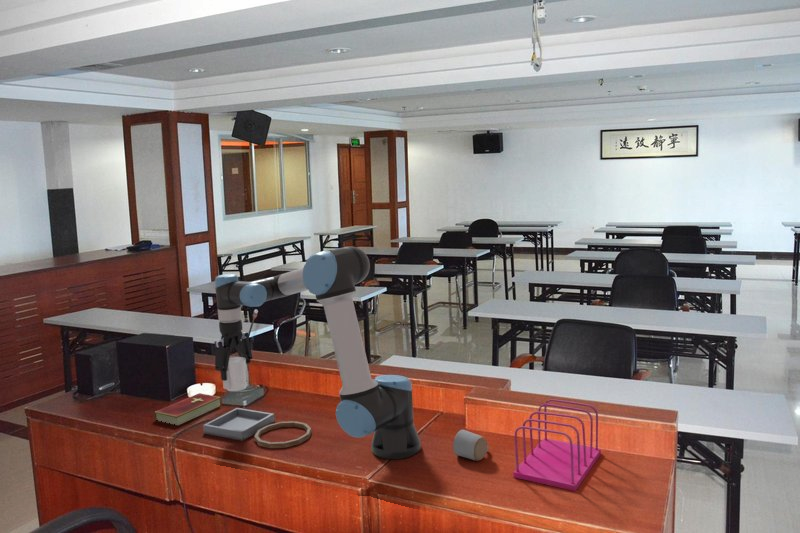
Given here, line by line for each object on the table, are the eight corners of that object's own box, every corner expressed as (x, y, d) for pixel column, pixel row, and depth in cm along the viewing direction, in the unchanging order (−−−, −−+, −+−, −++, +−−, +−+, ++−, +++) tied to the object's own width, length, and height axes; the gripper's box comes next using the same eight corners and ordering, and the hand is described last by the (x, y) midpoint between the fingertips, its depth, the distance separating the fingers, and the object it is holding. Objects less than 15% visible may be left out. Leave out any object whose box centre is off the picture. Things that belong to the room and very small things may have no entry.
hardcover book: (155, 422, 239) (153, 410, 238) (199, 402, 257) (198, 392, 256) (177, 427, 233) (176, 415, 232) (221, 407, 250) (220, 396, 250)
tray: (274, 421, 232) (274, 413, 231) (242, 440, 217) (241, 432, 216) (237, 415, 239) (237, 407, 239) (203, 433, 225) (203, 425, 224)
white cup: (224, 386, 228) (221, 358, 227) (247, 383, 231) (244, 355, 229) (225, 393, 221) (222, 364, 219) (249, 390, 223) (246, 361, 222)
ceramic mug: (476, 465, 190) (475, 440, 189) (452, 458, 195) (451, 434, 194) (495, 452, 198) (494, 428, 197) (472, 446, 204) (471, 422, 202)
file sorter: (513, 478, 182) (511, 424, 179) (544, 443, 203) (543, 394, 200) (575, 492, 173) (574, 435, 170) (601, 454, 194) (600, 403, 191)
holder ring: (305, 446, 209) (305, 442, 209) (249, 449, 210) (249, 444, 210) (314, 424, 227) (314, 420, 227) (262, 426, 228) (262, 422, 228)
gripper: (244, 312, 233) (249, 374, 236) (198, 326, 216) (205, 393, 219) (259, 314, 229) (265, 377, 232) (214, 328, 212) (221, 396, 215)
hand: (236, 384), depth 226 cm, fingers closed on white cup, 8 cm apart
